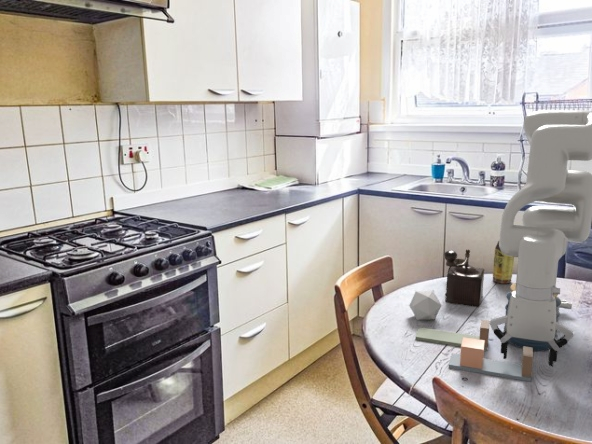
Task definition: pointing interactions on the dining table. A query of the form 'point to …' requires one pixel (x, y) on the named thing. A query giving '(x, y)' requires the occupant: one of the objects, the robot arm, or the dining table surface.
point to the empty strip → (453, 335)
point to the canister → (527, 342)
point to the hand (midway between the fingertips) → (527, 359)
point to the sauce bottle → (502, 266)
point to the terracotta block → (472, 353)
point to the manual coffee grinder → (463, 281)
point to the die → (425, 305)
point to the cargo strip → (501, 366)
